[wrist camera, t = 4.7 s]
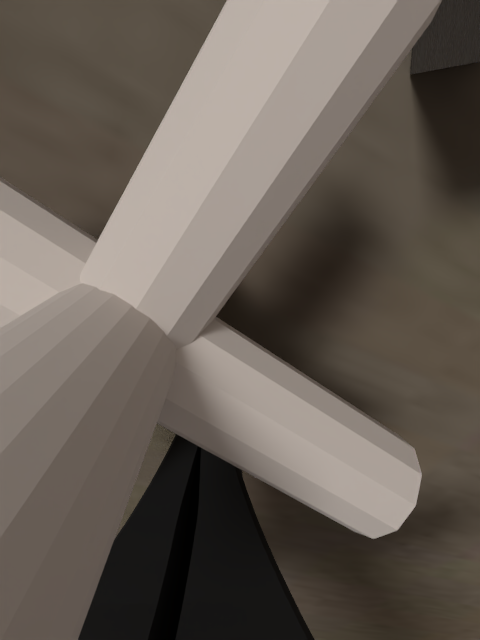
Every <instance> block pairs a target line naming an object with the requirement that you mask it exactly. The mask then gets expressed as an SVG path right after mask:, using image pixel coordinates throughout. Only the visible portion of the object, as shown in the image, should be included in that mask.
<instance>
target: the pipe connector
mask: <svg viewBox="0 0 480 640" xmlns="http://www.w3.org/2000/svg"><path fill="white" fill-rule="evenodd" d="M441 2H442V0H227V1H226V3H225V5H224V7H223V9H222V11H221V13H220V14H219V16H218V18H217V20H216V22H215V24H214V26H213V27H212V29H211V31H210V33H209V35H208V37H207V39H206V40H205V42H204V44H203V46H202V48H201V50H200V52H199V53H198V55H197V57H196V59H195V61H194V63H193V65H192V66H191V68H190V70H189V72H188V74H187V76H186V78H185V79H184V81H183V83H182V85H181V87H180V89H179V91H178V92H177V94H176V96H175V98H174V100H173V102H172V104H171V105H170V107H169V109H168V111H167V113H166V115H165V117H164V118H163V120H162V122H161V124H160V126H159V128H158V130H157V131H156V133H155V135H154V137H153V139H152V141H151V143H150V144H149V146H148V148H147V150H146V152H145V154H144V156H143V157H142V159H141V161H140V163H139V165H138V167H137V169H136V170H135V172H134V174H133V176H132V178H131V180H130V182H129V183H128V185H127V187H126V189H125V191H124V193H123V195H122V196H121V198H120V200H119V202H118V204H117V206H116V208H115V209H114V211H113V213H112V215H111V217H110V219H109V221H108V222H107V224H106V226H105V228H104V230H103V232H102V234H101V235H100V237H99V239H98V240H97V239H96V238H94V237H93V236H91V235H89V234H88V233H86V232H85V231H83V230H82V229H80V228H79V227H77V226H76V225H74V224H72V223H71V222H69V221H68V220H66V219H65V218H63V217H62V216H60V215H59V214H57V213H56V212H54V211H52V210H51V209H49V208H48V207H46V206H45V205H43V204H42V203H40V202H39V201H37V200H35V199H34V198H32V197H31V196H29V195H28V194H26V193H25V192H23V191H22V190H20V189H19V188H17V187H15V186H14V185H12V184H11V183H9V182H8V181H6V180H5V179H3V178H2V177H0V640H78V638H79V635H80V632H81V629H82V627H83V624H84V621H85V618H86V616H87V613H88V610H89V607H90V605H91V602H92V599H93V596H94V594H95V591H96V588H97V586H98V583H99V580H100V577H101V575H102V572H103V569H104V566H105V564H106V561H107V558H108V555H109V553H110V550H111V547H112V544H113V542H114V539H115V536H116V533H117V531H118V528H119V525H120V522H121V520H122V517H123V514H124V511H125V509H126V506H127V503H128V500H129V498H130V495H131V492H132V489H133V487H134V484H135V481H136V478H137V476H138V473H139V470H140V467H141V465H142V462H143V459H144V456H145V454H146V451H147V448H148V445H149V443H150V440H151V437H152V434H153V432H154V429H155V426H156V423H157V424H159V425H161V426H163V427H165V428H166V429H168V430H170V431H172V432H174V433H175V434H177V435H179V436H181V437H183V438H185V439H186V440H188V441H190V442H192V443H194V444H196V445H197V446H199V447H201V448H203V449H205V450H206V451H208V452H210V453H212V454H214V455H216V456H217V457H219V458H221V459H223V460H225V461H226V462H228V463H230V464H232V465H234V466H236V467H237V468H239V469H241V470H243V471H245V472H247V473H248V474H250V475H252V476H254V477H256V478H257V479H259V480H261V481H263V482H265V483H267V484H268V485H270V486H272V487H274V488H276V489H278V490H279V491H281V492H283V493H285V494H287V495H288V496H290V497H292V498H294V499H296V500H298V501H299V502H301V503H303V504H305V505H307V506H309V507H310V508H312V509H314V510H316V511H318V512H319V513H321V514H323V515H325V516H327V517H329V518H330V519H332V520H334V521H336V522H338V523H340V524H341V525H343V526H345V527H347V528H349V529H350V530H352V531H354V532H357V533H359V534H362V535H365V536H367V537H370V538H372V539H375V538H378V537H381V536H383V535H386V534H389V533H391V532H394V531H397V530H398V529H399V528H400V526H401V525H402V524H403V522H404V521H405V520H406V518H407V517H408V516H409V514H410V513H411V512H412V510H413V509H414V508H415V506H416V503H417V497H418V492H419V487H420V482H421V477H422V473H421V470H420V466H419V463H418V459H417V456H416V452H415V449H414V448H413V447H412V446H411V445H410V444H409V443H407V442H406V441H405V440H404V439H403V438H401V437H400V436H399V435H398V434H396V433H395V432H393V431H392V430H390V429H389V428H387V427H386V426H384V425H382V424H381V423H379V422H378V421H376V420H375V419H373V418H372V417H370V416H369V415H367V414H366V413H364V412H362V411H361V410H359V409H358V408H356V407H355V406H353V405H352V404H350V403H349V402H347V401H345V400H344V399H342V398H341V397H339V396H338V395H336V394H335V393H333V392H332V391H330V390H329V389H327V388H325V387H324V386H322V385H321V384H319V383H318V382H316V381H315V380H313V379H312V378H310V377H308V376H307V375H305V374H304V373H302V372H301V371H299V370H298V369H296V368H295V367H293V366H291V365H290V364H288V363H287V362H285V361H284V360H282V359H281V358H279V357H278V356H276V355H275V354H273V353H271V352H270V351H268V350H267V349H265V348H264V347H262V346H261V345H259V344H258V343H256V342H254V341H253V340H251V339H250V338H248V337H247V336H245V335H244V334H242V333H241V332H239V331H238V330H236V329H234V328H233V327H231V326H230V325H228V324H227V323H225V322H224V321H222V320H221V319H219V318H217V317H216V316H217V314H218V313H219V311H220V310H221V309H222V307H223V306H224V305H225V303H226V302H227V301H228V299H229V298H230V296H231V295H232V294H233V292H234V291H235V290H236V288H237V287H238V285H239V284H240V283H241V281H242V280H243V279H244V277H245V276H246V275H247V273H248V272H249V270H250V269H251V268H252V266H253V265H254V264H255V262H256V261H257V259H258V258H259V257H260V255H261V254H262V253H263V251H264V250H265V249H266V247H267V246H268V244H269V243H270V242H271V240H272V239H273V238H274V236H275V235H276V233H277V232H278V231H279V229H280V228H281V227H282V225H283V224H284V223H285V221H286V220H287V218H288V217H289V216H290V214H291V213H292V212H293V210H294V209H295V207H296V206H297V205H298V203H299V202H300V201H301V199H302V198H303V197H304V195H305V194H306V192H307V191H308V190H309V188H310V187H311V186H312V184H313V183H314V182H315V180H316V179H317V177H318V176H319V175H320V173H321V172H322V171H323V169H324V168H325V166H326V165H327V164H328V162H329V161H330V160H331V158H332V157H333V156H334V154H335V153H336V151H337V150H338V149H339V147H340V146H341V145H342V143H343V142H344V140H345V139H346V138H347V136H348V135H349V134H350V132H351V131H352V130H353V128H354V127H355V125H356V124H357V123H358V121H359V120H360V119H361V117H362V116H363V114H364V113H365V112H366V110H367V109H368V108H369V106H370V105H371V104H372V102H373V101H374V99H375V98H376V97H377V95H378V94H379V93H380V91H381V90H382V89H383V87H384V86H385V84H386V83H387V82H388V80H389V79H390V78H391V76H392V75H393V73H394V72H395V71H396V69H397V68H398V67H399V65H400V64H401V63H402V61H403V60H404V58H405V57H406V56H407V54H408V53H409V52H410V50H411V49H412V47H413V46H414V45H415V43H416V42H417V41H418V39H419V38H420V37H421V35H422V34H423V32H424V31H425V30H426V28H427V27H428V26H429V24H430V23H431V21H432V19H433V17H434V15H435V13H436V11H437V9H438V7H439V5H440V4H441Z"/></svg>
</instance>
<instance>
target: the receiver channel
mask: <svg viewBox="0 0 480 640" xmlns="http://www.w3.org/2000/svg"><path fill="white" fill-rule="evenodd" d="M477 62H480V0H442V2H441V4H440V5H439V7H438V9H437V11H436V13H435V15H434V17H433V19H432V21H431V23H430V24H429V26H428V27H427V28H426V30H425V31H424V32H423V34H422V35H421V37H420V38H419V39H418V41H417V42H416V43H415V45H414V46H413V49H412V61H411V73H410V75H411V74H416V73H422V72H427V71H433V70H438V69H444V68H450V67H455V66H461V65H466V64H472V63H477Z"/></svg>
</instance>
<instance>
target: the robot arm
mask: <svg viewBox="0 0 480 640" xmlns="http://www.w3.org/2000/svg"><path fill="white" fill-rule="evenodd" d="M78 640H314V638H313V636H312V634H311V632H310V630H309V629H308V627H307V625H306V623H305V621H304V619H303V617H302V615H301V613H300V611H299V609H298V607H297V605H296V603H295V601H294V599H293V597H292V595H291V593H290V591H289V589H288V586H287V584H286V582H285V580H284V578H283V576H282V574H281V572H280V570H279V568H278V566H277V564H276V561H275V559H274V557H273V555H272V552H271V550H270V548H269V546H268V543H267V541H266V539H265V536H264V534H263V531H262V529H261V527H260V524H259V522H258V519H257V517H256V514H255V512H254V509H253V506H252V504H251V501H250V498H249V495H248V492H247V490H246V487H245V484H244V481H243V477H242V470H241V469H239V468H237V467H236V466H234V465H232V464H230V463H228V462H226V461H225V460H223V459H221V458H219V457H217V456H216V455H214V454H212V453H210V452H208V451H206V450H205V449H203V448H201V447H199V446H197V445H196V444H194V443H192V442H190V441H188V440H186V439H185V438H183V437H181V436H179V435H177V434H176V436H175V438H174V440H173V442H172V444H171V446H170V448H169V450H168V452H167V454H166V455H165V457H164V459H163V461H162V463H161V465H160V467H159V468H158V470H157V472H156V474H155V476H154V477H153V479H152V481H151V483H150V485H149V486H148V488H147V490H146V491H145V493H144V495H143V496H142V498H141V499H140V501H139V503H138V504H137V506H136V508H135V509H134V511H133V513H132V514H131V516H130V517H129V519H128V520H127V522H126V523H125V525H124V526H123V528H122V529H121V531H120V532H119V534H118V535H117V537H116V538H115V540H114V542H113V544H112V547H111V550H110V553H109V555H108V558H107V561H106V564H105V566H104V569H103V572H102V575H101V577H100V580H99V583H98V586H97V588H96V591H95V594H94V596H93V599H92V602H91V605H90V607H89V610H88V613H87V616H86V618H85V621H84V624H83V627H82V629H81V632H80V635H79V638H78Z"/></svg>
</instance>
